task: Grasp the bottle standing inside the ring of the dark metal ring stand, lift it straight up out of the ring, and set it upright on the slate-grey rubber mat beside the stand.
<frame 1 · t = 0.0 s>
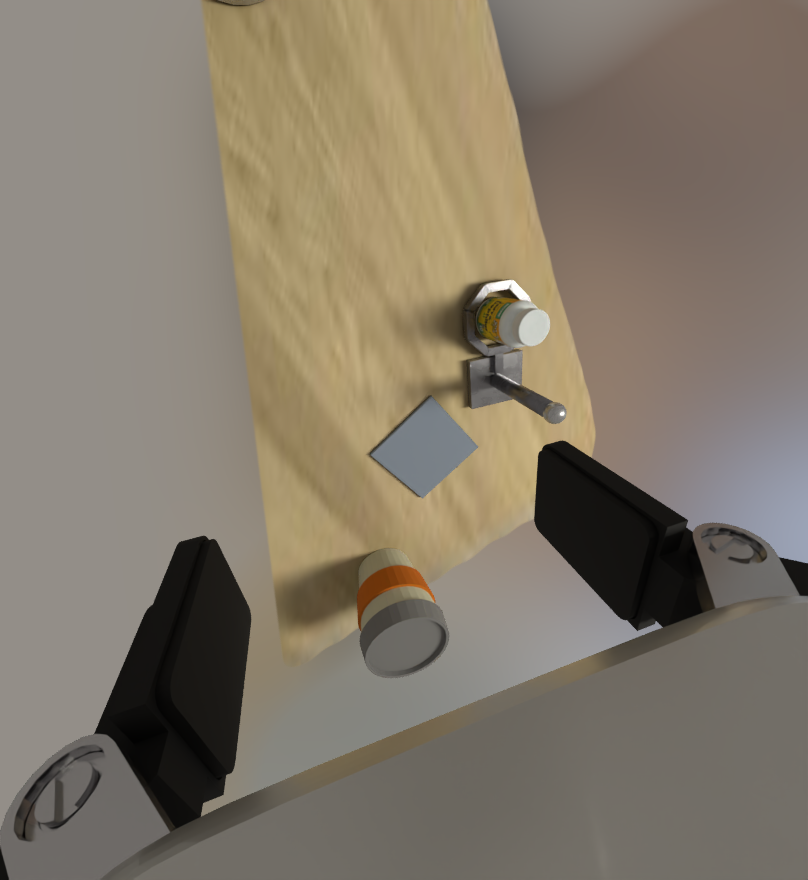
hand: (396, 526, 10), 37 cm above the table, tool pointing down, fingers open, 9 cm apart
supplement bottle: (491, 317, 48), resting in ring stand
reusable coffee cup: (383, 567, 62), on the table
rubber mat: (425, 449, 54), on the table
ring stand: (492, 317, 48), on the table
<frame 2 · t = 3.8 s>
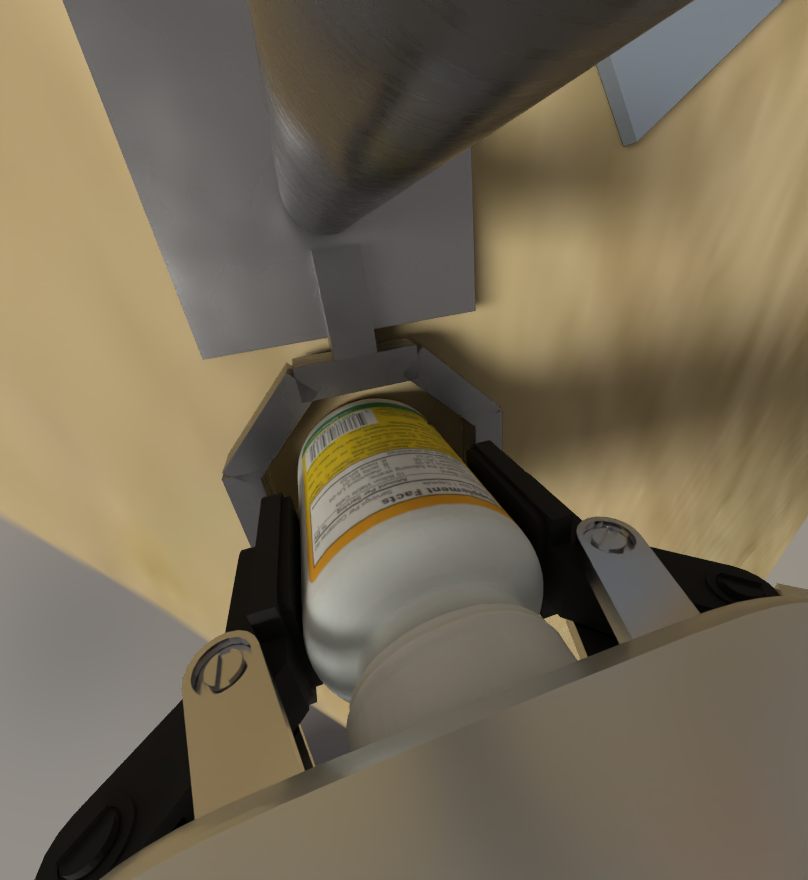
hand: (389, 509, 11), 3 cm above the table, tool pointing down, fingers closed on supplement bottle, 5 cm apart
supplement bottle: (369, 460, 14), resting in ring stand, touching gripper
ring stand: (370, 462, 14), on the table
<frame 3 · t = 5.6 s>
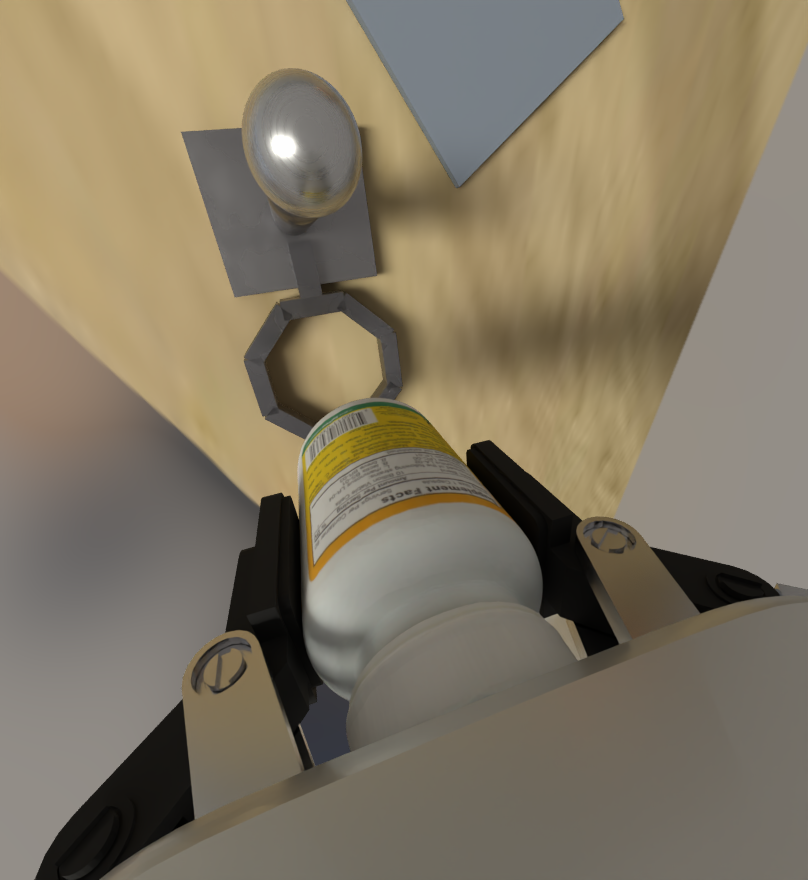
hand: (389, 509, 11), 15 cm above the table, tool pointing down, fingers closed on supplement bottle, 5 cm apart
supplement bottle: (369, 459, 14), point 12 cm above the table, touching gripper
ring stand: (326, 366, 24), on the table
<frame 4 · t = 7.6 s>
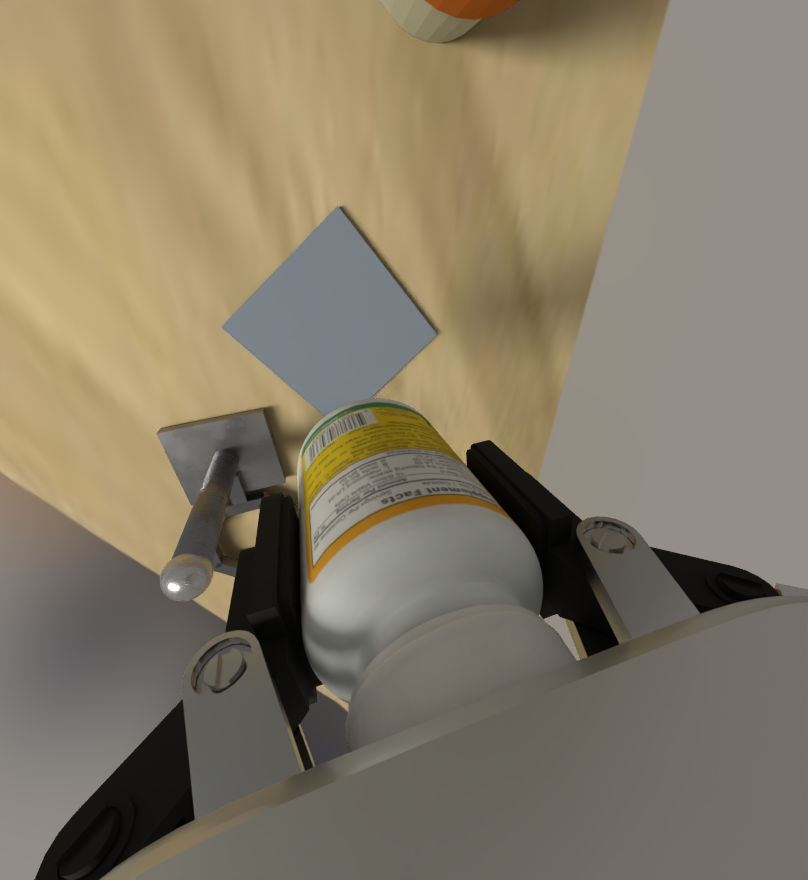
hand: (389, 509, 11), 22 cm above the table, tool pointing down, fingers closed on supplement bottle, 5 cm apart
supplement bottle: (369, 460, 14), point 18 cm above the table, touching gripper
rubber mat: (337, 330, 29), on the table
ring stand: (257, 529, 35), on the table
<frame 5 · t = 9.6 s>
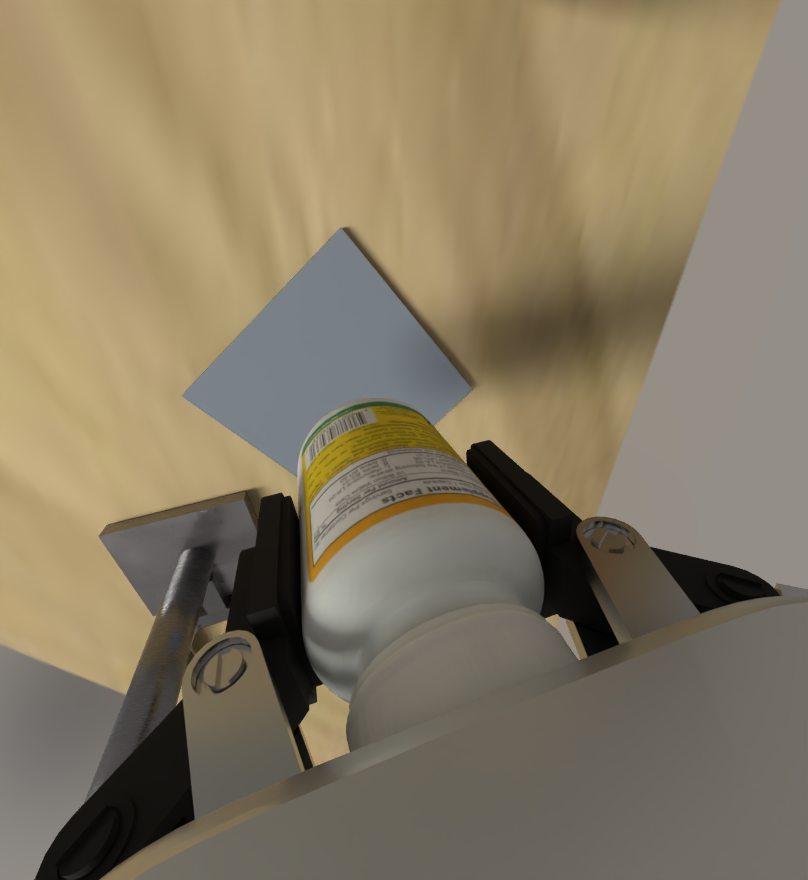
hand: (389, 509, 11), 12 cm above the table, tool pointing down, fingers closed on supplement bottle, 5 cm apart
supplement bottle: (369, 459, 14), point 9 cm above the table, touching gripper
rubber mat: (341, 389, 22), on the table
ring stand: (242, 630, 28), on the table
when the fingers open (5 cm above the table, at t = 11.4 s): supplement bottle drops 1 cm, resting on rubber mat.
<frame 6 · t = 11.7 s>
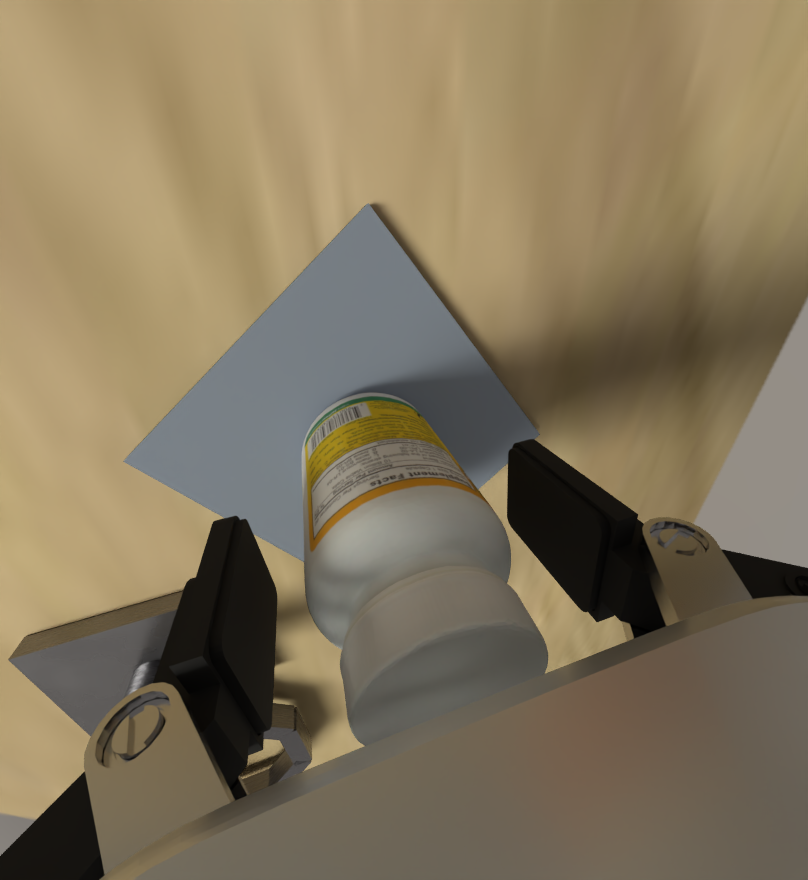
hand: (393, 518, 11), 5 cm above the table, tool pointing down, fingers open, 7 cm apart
supplement bottle: (367, 448, 15), resting on rubber mat
rubber mat: (361, 440, 15), on the table
ring stand: (227, 739, 21), on the table
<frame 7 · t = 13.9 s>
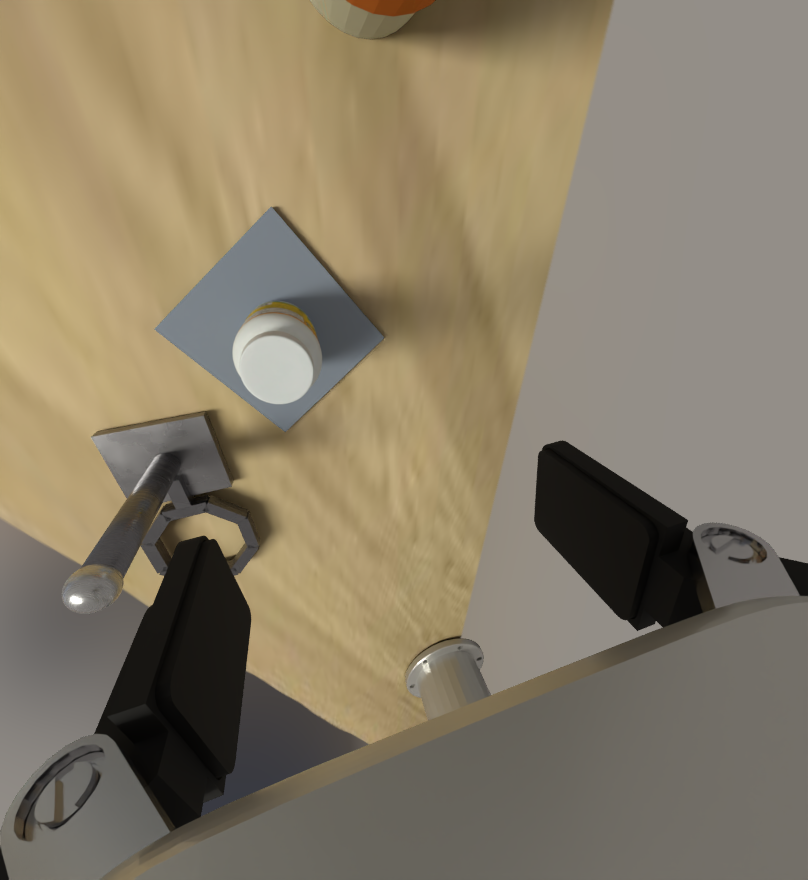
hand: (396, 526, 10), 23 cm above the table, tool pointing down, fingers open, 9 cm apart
supplement bottle: (281, 336, 28), resting on rubber mat
rubber mat: (279, 332, 29), on the table
ring stand: (206, 533, 35), on the table
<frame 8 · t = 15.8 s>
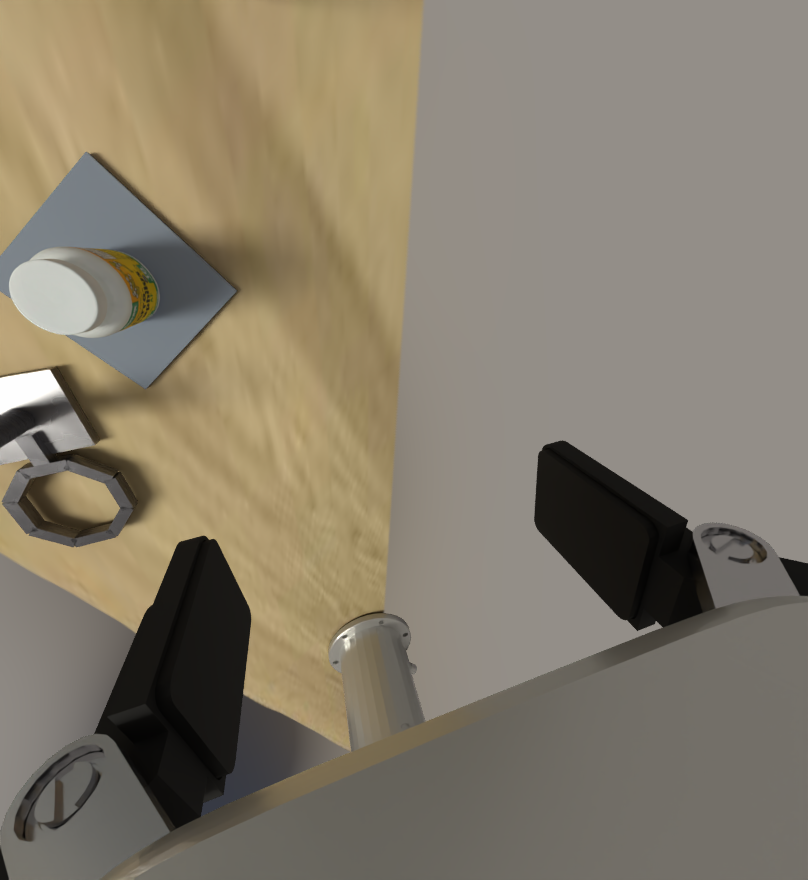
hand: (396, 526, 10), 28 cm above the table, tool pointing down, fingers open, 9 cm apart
supplement bottle: (123, 288, 29), resting on rubber mat
rubber mat: (122, 285, 29), on the table
ring stand: (80, 495, 35), on the table
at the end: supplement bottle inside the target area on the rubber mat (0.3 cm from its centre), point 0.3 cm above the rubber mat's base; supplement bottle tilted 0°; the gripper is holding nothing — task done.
